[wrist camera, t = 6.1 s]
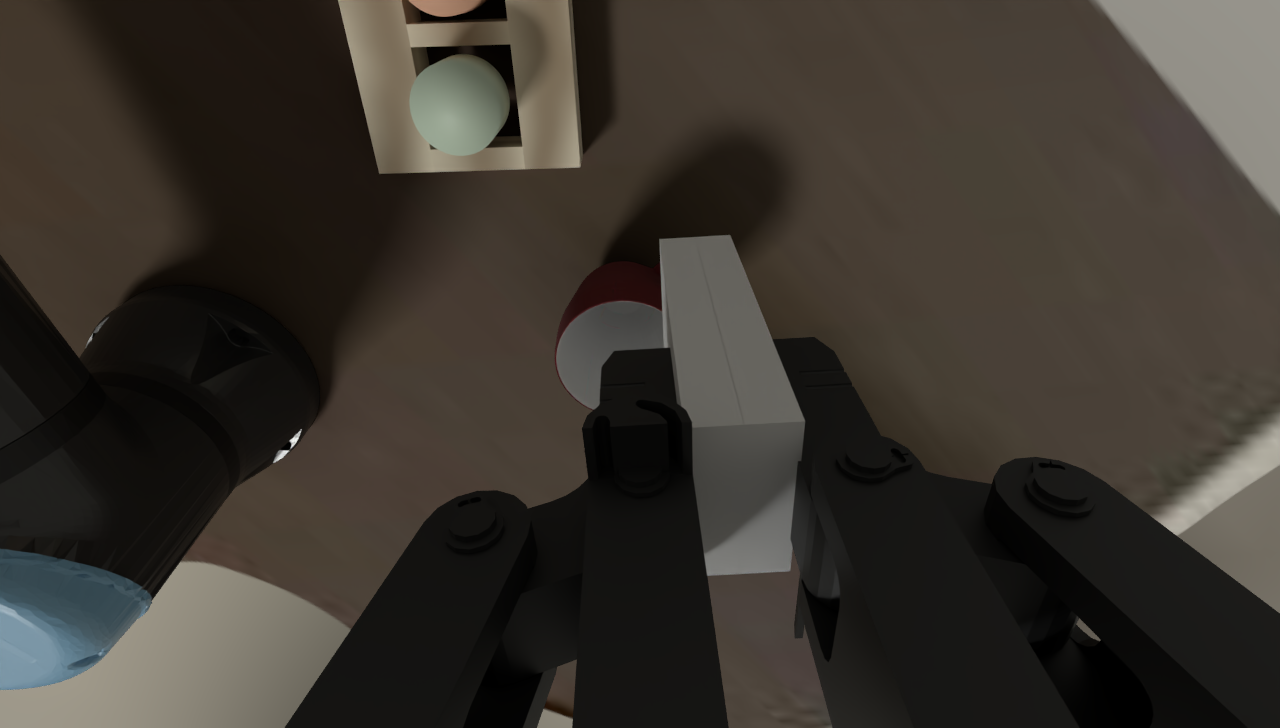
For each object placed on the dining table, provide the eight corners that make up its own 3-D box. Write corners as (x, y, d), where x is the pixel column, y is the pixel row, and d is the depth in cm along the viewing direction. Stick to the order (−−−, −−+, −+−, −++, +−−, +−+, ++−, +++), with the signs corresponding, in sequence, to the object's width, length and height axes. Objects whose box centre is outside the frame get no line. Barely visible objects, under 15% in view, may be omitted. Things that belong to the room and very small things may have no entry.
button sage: (435, 142, 37) (419, 157, 34) (419, 55, 35) (400, 63, 32) (514, 140, 37) (505, 154, 34) (503, 52, 35) (492, 60, 32)
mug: (635, 182, 42) (638, 236, 33) (726, 254, 44) (750, 320, 36) (544, 298, 46) (526, 372, 37) (632, 356, 49) (635, 438, 40)
